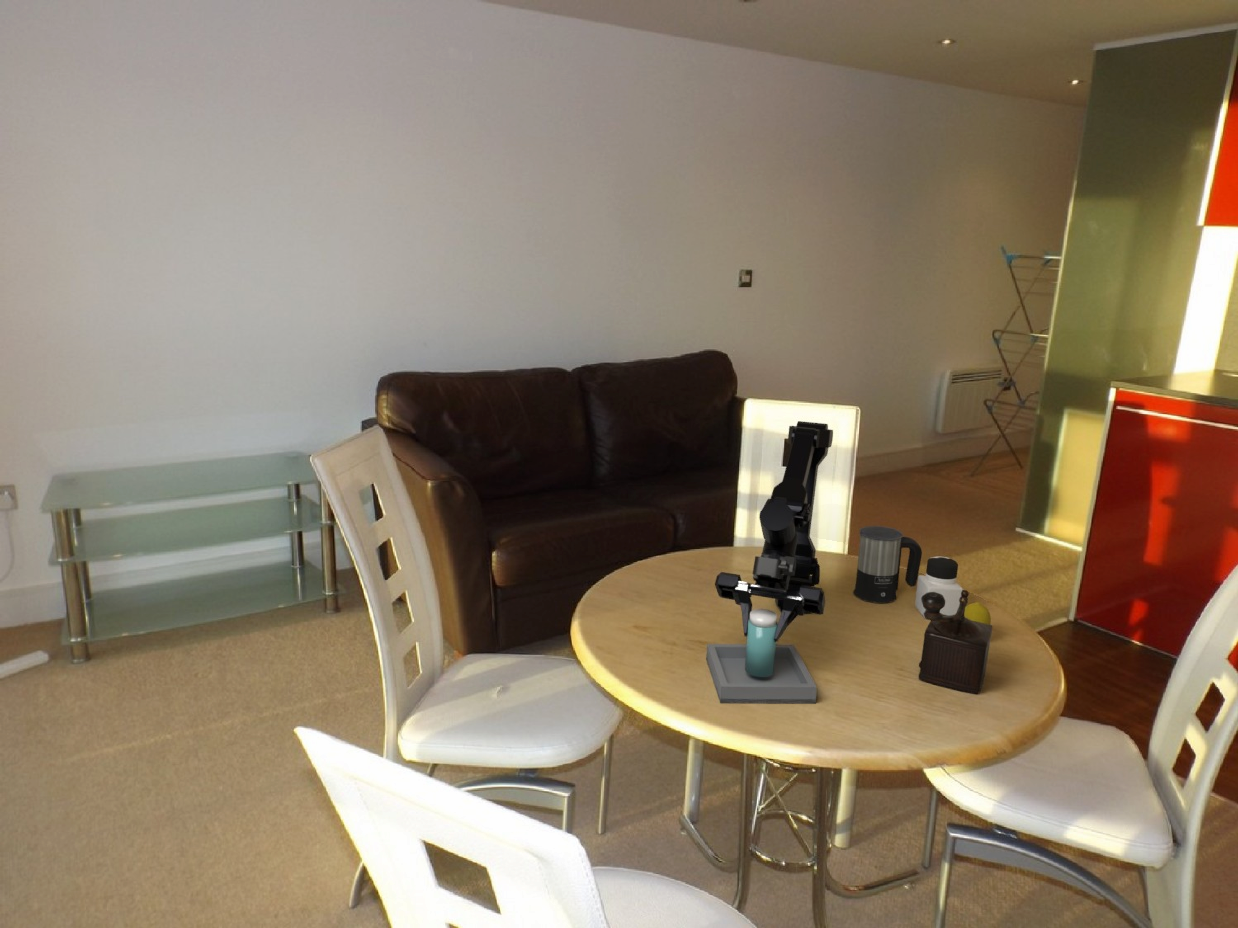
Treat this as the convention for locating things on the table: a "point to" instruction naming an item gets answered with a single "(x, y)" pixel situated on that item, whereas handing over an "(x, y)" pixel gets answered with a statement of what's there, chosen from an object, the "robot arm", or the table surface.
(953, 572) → the medicine bottle
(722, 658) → the tray
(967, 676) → the manual coffee grinder
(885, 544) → the milk frother
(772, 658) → the ball
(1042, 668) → the table surface
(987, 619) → the lemon
